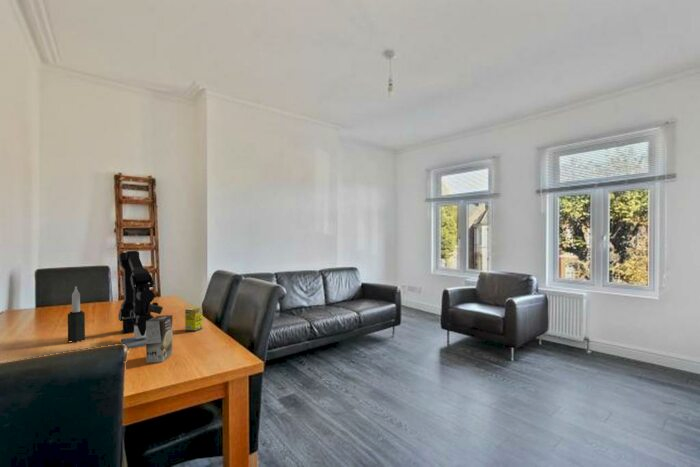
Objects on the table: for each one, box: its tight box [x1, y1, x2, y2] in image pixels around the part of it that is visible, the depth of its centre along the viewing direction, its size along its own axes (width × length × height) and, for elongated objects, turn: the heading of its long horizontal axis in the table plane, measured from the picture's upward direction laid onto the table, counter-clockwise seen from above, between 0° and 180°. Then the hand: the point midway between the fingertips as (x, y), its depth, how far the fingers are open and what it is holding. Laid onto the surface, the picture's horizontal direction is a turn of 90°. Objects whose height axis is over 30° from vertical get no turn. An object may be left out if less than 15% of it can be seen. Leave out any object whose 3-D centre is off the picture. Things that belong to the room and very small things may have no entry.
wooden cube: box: [133, 325, 146, 339], centre depth 159 cm, size 5×5×5 cm
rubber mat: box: [120, 336, 146, 350], centre depth 159 cm, size 14×14×1 cm
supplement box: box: [184, 306, 203, 333], centre depth 178 cm, size 6×6×11 cm
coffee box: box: [145, 314, 174, 364], centre depth 139 cm, size 9×6×16 cm
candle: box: [67, 286, 86, 343], centre depth 161 cm, size 5×5×25 cm
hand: (141, 334), depth 159 cm, fingers closed on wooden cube, 5 cm apart
